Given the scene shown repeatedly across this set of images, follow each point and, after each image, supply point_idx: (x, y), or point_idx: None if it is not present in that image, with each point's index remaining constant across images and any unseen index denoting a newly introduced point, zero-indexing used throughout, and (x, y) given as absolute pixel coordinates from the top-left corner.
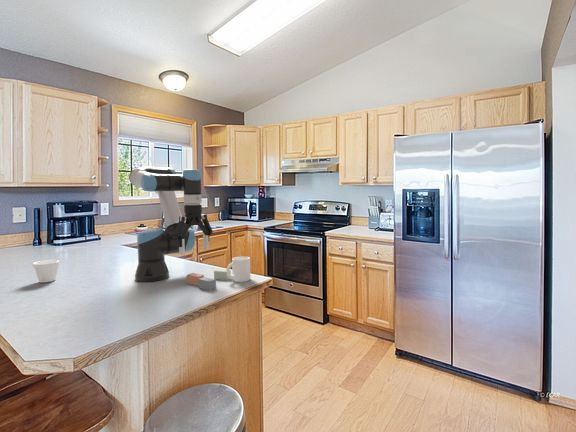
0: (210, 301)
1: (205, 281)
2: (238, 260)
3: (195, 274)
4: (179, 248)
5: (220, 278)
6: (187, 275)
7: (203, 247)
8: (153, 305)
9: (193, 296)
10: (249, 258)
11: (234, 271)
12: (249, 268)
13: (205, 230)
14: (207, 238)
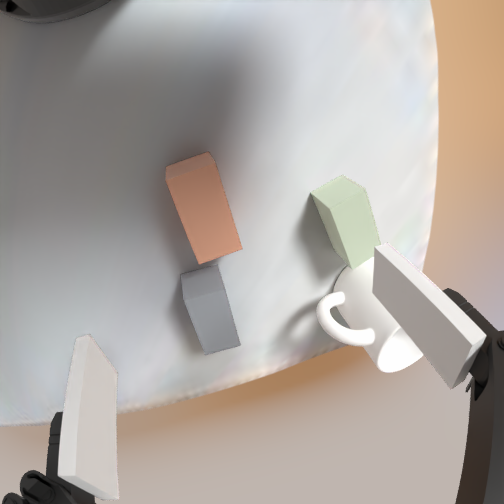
0: (157, 399)
1: (197, 334)
2: (378, 368)
3: (211, 209)
4: (70, 385)
5: (324, 224)
6: (168, 185)
7: (382, 254)
8: (6, 345)
9: (125, 349)
10: (420, 357)
11: (351, 319)
12: (394, 334)
13: (471, 444)
14: (436, 364)
